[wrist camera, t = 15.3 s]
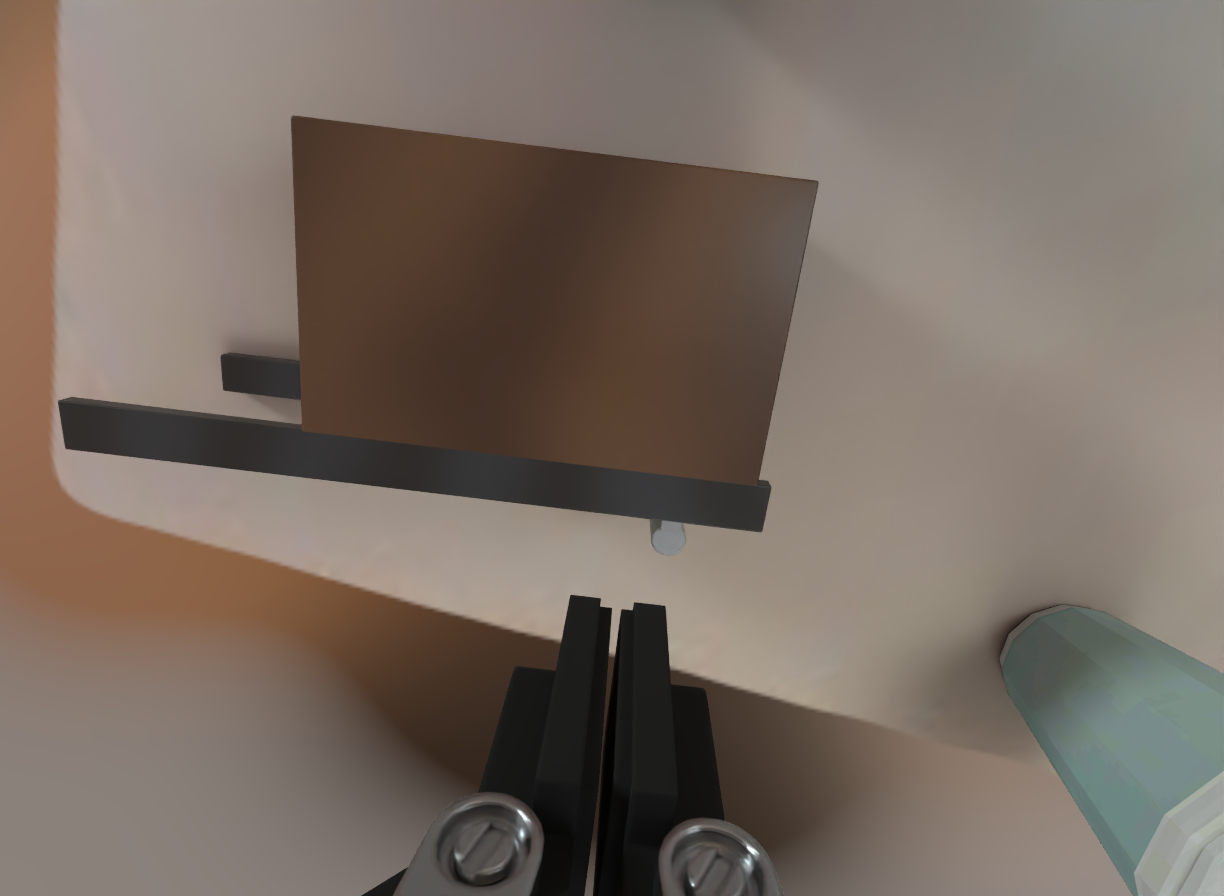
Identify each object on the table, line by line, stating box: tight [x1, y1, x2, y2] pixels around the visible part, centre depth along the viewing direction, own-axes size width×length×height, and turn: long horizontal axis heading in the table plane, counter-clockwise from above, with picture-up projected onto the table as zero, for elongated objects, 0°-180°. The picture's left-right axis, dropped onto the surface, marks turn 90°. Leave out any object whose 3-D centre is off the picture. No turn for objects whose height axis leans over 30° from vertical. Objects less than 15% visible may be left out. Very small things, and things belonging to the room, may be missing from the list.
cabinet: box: [58, 116, 819, 532], centre depth 26 cm, size 25×12×10 cm, turn 83°
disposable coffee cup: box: [999, 605, 1224, 896], centre depth 28 cm, size 11×11×15 cm
